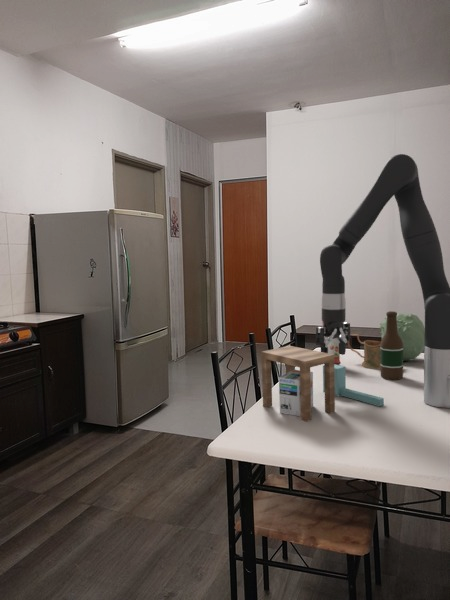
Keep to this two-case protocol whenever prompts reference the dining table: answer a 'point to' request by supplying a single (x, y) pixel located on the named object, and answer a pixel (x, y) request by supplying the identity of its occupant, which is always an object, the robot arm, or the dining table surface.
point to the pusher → (342, 390)
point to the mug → (369, 353)
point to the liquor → (334, 349)
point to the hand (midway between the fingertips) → (333, 356)
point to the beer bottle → (391, 350)
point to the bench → (304, 361)
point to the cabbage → (408, 334)
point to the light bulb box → (292, 392)
